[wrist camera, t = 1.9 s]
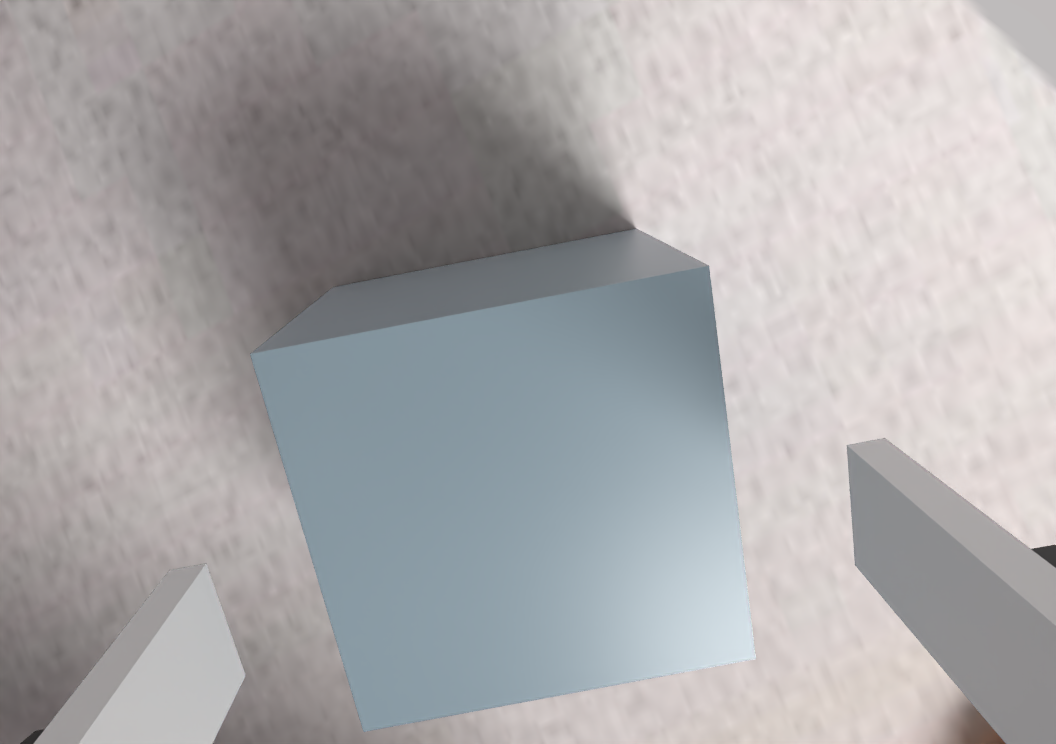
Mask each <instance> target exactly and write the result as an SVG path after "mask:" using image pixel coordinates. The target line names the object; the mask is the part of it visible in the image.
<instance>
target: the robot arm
mask: <svg viewBox="0 0 1056 744" xmlns="http://www.w3.org/2000/svg"><path fill="white" fill-rule="evenodd" d="M847 455H848V469H849V484H850V499H851V513H852V528H853V543H854V558H855V566H856V567H857V568H858V569H859V570H860V572H861V573H862V574H863V575H864V576H865V577H866V579H867V580H868V581H869V582H870V583H871V585H872V586H873V587H874V588H875V589H876V590H877V592H878V593H879V594H880V595H881V596H882V598H883V599H884V600H885V601H886V602H887V603H888V605H889V606H890V607H891V608H892V609H893V611H894V612H895V613H896V614H897V615H898V617H899V618H900V619H901V620H902V621H903V622H904V624H905V625H906V626H907V627H908V628H909V630H910V631H911V632H912V633H913V634H914V635H915V637H916V638H917V639H918V640H919V641H920V643H921V644H922V645H923V646H924V647H925V648H926V650H927V651H928V652H929V653H930V654H931V656H932V657H933V658H934V659H935V660H936V662H937V663H938V664H939V665H940V666H941V667H942V669H943V670H944V671H945V672H946V673H947V675H948V676H949V677H950V678H951V679H952V680H953V682H954V683H955V684H956V685H957V686H958V688H959V689H960V690H961V691H962V692H963V693H964V695H965V696H966V697H967V698H968V699H969V701H970V702H971V703H972V704H973V705H974V707H975V708H976V709H977V710H978V711H979V712H980V714H981V715H982V716H983V717H984V718H985V720H986V721H987V722H988V723H989V724H990V725H991V727H992V728H993V729H994V730H995V731H996V733H997V734H998V735H999V736H1000V737H1001V738H1002V740H1003V741H1004V742H1005V743H1006V744H1056V545H1051V546H1045V547H1040V548H1034V549H1030V548H1029V547H1027V546H1026V545H1025V544H1023V543H1022V542H1021V541H1020V540H1018V539H1017V538H1016V537H1014V536H1013V535H1012V534H1010V533H1009V532H1008V531H1006V530H1005V529H1004V528H1002V527H1001V526H1000V525H998V524H997V523H996V522H995V521H993V520H992V519H991V518H989V517H988V516H987V515H985V514H984V513H983V512H981V511H980V510H979V509H977V508H976V507H975V506H973V505H972V504H971V503H970V502H968V501H967V500H966V499H964V498H963V497H962V496H960V495H959V494H958V493H956V492H955V491H954V490H952V489H951V488H950V487H949V486H947V485H946V484H945V483H943V482H942V481H941V480H939V479H938V478H937V477H935V476H934V475H933V474H931V473H930V472H929V471H927V470H926V469H925V468H924V467H922V466H921V465H920V464H918V463H917V462H916V461H914V460H913V459H912V458H910V457H909V456H908V455H906V454H905V453H904V452H903V451H901V450H900V449H899V448H897V447H896V446H895V445H893V444H892V443H891V442H889V441H888V440H887V439H885V438H883V439H878V440H872V441H867V442H861V443H856V444H851V445H847ZM245 676H246V675H245V672H244V669H243V666H242V663H241V660H240V658H239V655H238V652H237V649H236V646H235V643H234V641H233V638H232V635H231V632H230V629H229V626H228V623H227V621H226V618H225V615H224V612H223V609H222V606H221V604H220V601H219V598H218V595H217V592H216V589H215V587H214V584H213V581H212V578H211V575H210V572H209V570H208V567H207V564H200V565H195V566H189V567H184V568H178V569H173V570H169V572H168V573H167V574H166V575H165V577H164V578H163V579H162V581H161V582H160V583H159V584H158V586H157V587H156V588H155V589H154V591H153V592H152V593H151V595H150V596H149V597H148V598H147V600H146V601H145V602H144V603H143V605H142V606H141V607H140V609H139V610H138V611H137V612H136V614H135V615H134V616H133V618H132V619H131V620H130V621H129V623H128V624H127V625H126V626H125V628H124V629H123V630H122V632H121V633H120V634H119V635H118V637H117V638H116V639H115V640H114V642H113V643H112V644H111V646H110V647H109V648H108V649H107V651H106V652H105V653H104V655H103V656H102V657H101V658H100V660H99V661H98V662H97V663H96V665H95V666H94V667H93V669H92V670H91V671H90V672H89V674H88V675H87V676H86V677H85V679H84V680H83V681H82V683H81V684H80V685H79V686H78V688H77V689H76V690H75V692H74V693H73V694H72V695H71V697H70V698H69V699H68V700H67V702H66V703H65V704H64V706H63V707H62V708H61V709H60V711H59V712H58V713H57V714H56V716H55V717H54V718H53V720H52V721H51V722H50V723H49V725H48V726H47V727H46V728H45V729H44V730H39V731H35V732H34V733H33V734H31V735H30V736H29V737H28V738H27V739H25V740H24V741H23V742H22V743H20V744H213V742H214V740H215V738H216V736H217V734H218V732H219V730H220V727H221V725H222V723H223V721H224V719H225V717H226V715H227V713H228V711H229V709H230V707H231V705H232V703H233V701H234V699H235V696H236V694H237V692H238V690H239V688H240V686H241V684H242V682H243V680H244V678H245Z"/></svg>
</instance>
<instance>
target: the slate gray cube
mask: <svg viewBox="0 0 1056 744" xmlns="http://www.w3.org/2000/svg"><path fill="white" fill-rule="evenodd" d="M250 355H251V359H252V362H253V365H254V369H255V372H256V375H257V379H258V382H259V385H260V389H261V392H262V395H263V399H264V402H265V405H266V409H267V412H268V415H269V419H270V422H271V425H272V429H273V432H274V435H275V439H276V442H277V445H278V449H279V452H280V455H281V459H282V462H283V465H284V469H285V472H286V475H287V479H288V482H289V485H290V489H291V492H292V495H293V499H294V502H295V505H296V509H297V512H298V515H299V519H300V522H301V525H302V528H303V532H304V535H305V538H306V542H307V545H308V548H309V552H310V555H311V558H312V562H313V565H314V568H315V572H316V575H317V578H318V582H319V585H320V588H321V592H322V595H323V598H324V602H325V605H326V608H327V612H328V615H329V618H330V622H331V625H332V628H333V632H334V635H335V638H336V642H337V645H338V648H339V652H340V655H341V658H342V662H343V665H344V668H345V672H346V675H347V678H348V682H349V685H350V688H351V691H352V695H353V698H354V701H355V705H356V708H357V711H358V715H359V718H360V721H361V725H362V728H363V731H364V732H366V731H371V730H377V729H382V728H387V727H393V726H398V725H403V724H409V723H414V722H420V721H425V720H430V719H436V718H441V717H447V716H452V715H457V714H463V713H468V712H473V711H479V710H484V709H490V708H495V707H500V706H506V705H511V704H516V703H522V702H527V701H533V700H538V699H543V698H549V697H554V696H560V695H565V694H570V693H576V692H581V691H586V690H592V689H597V688H603V687H608V686H613V685H619V684H624V683H629V682H635V681H640V680H646V679H651V678H656V677H662V676H667V675H673V674H678V673H683V672H689V671H694V670H699V669H705V668H710V667H716V666H721V665H726V664H732V663H737V662H742V661H748V660H753V659H756V656H755V648H754V639H753V631H752V623H751V614H750V606H749V597H748V589H747V581H746V572H745V564H744V555H743V547H742V539H741V530H740V522H739V514H738V505H737V497H736V488H735V480H734V472H733V463H732V455H731V446H730V438H729V430H728V421H727V413H726V405H725V396H724V388H723V379H722V371H721V363H720V354H719V346H718V337H717V329H716V321H715V312H714V304H713V296H712V287H711V279H710V270H709V266H708V265H706V264H704V263H703V262H701V261H699V260H697V259H695V258H693V257H691V256H689V255H687V254H685V253H683V252H681V251H679V250H677V249H675V248H673V247H671V246H669V245H667V244H666V243H664V242H662V241H660V240H658V239H656V238H654V237H652V236H650V235H648V234H646V233H644V232H642V231H640V230H638V229H632V230H627V231H621V232H616V233H611V234H606V235H601V236H596V237H590V238H585V239H580V240H575V241H570V242H564V243H559V244H554V245H549V246H544V247H539V248H533V249H528V250H523V251H518V252H513V253H507V254H502V255H497V256H492V257H487V258H482V259H476V260H471V261H466V262H461V263H456V264H450V265H445V266H440V267H435V268H430V269H425V270H419V271H414V272H409V273H404V274H399V275H393V276H388V277H383V278H378V279H373V280H368V281H362V282H357V283H352V284H347V285H342V286H336V287H333V288H332V289H330V290H329V291H328V292H327V293H325V294H324V295H323V296H322V297H320V298H319V299H318V300H317V301H315V302H314V303H313V304H312V305H310V306H309V307H308V308H307V309H305V310H304V311H303V312H302V313H300V314H299V315H298V316H297V317H295V318H294V319H293V320H292V321H290V322H289V323H288V324H287V325H285V326H284V327H283V328H282V329H281V330H279V331H278V332H277V333H276V334H274V335H273V336H272V337H271V338H269V339H268V340H267V341H266V342H264V343H263V344H262V345H261V346H259V347H258V348H257V349H256V350H254V351H253V352H252V353H251V354H250Z"/></svg>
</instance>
